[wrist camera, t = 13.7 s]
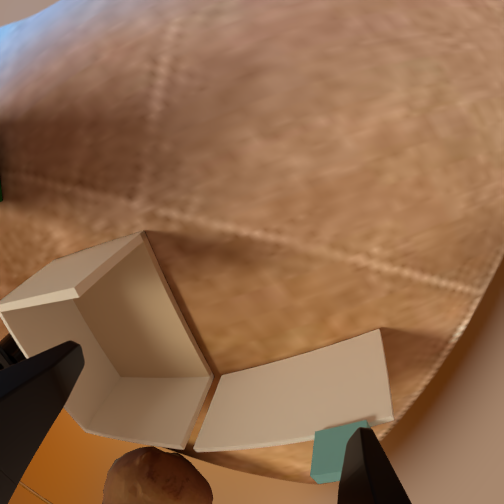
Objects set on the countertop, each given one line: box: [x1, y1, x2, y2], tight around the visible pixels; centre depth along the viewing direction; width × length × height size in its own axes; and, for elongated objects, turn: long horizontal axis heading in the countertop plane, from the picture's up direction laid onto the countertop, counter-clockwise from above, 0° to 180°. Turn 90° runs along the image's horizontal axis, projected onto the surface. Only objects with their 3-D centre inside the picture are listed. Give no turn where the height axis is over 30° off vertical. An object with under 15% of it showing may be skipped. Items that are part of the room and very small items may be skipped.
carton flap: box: [193, 329, 394, 484], centre depth 19 cm, size 1×14×11 cm, turn 119°
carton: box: [0, 231, 214, 450], centre depth 22 cm, size 11×14×8 cm
